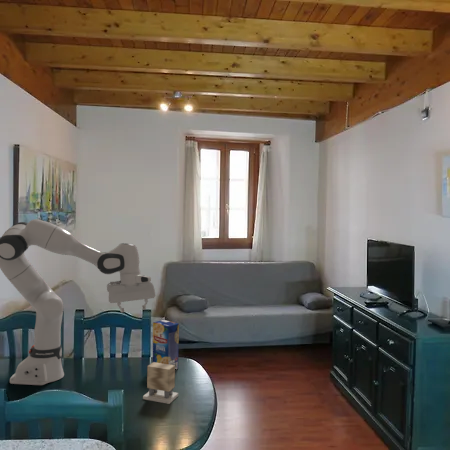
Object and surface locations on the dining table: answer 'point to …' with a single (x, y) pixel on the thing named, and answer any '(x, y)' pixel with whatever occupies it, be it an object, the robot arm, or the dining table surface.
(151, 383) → the tan wooden block
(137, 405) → the dining table surface
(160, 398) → the peg stand
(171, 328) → the beverage box
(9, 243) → the robot arm
